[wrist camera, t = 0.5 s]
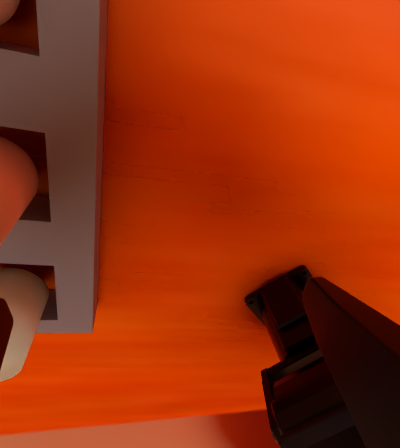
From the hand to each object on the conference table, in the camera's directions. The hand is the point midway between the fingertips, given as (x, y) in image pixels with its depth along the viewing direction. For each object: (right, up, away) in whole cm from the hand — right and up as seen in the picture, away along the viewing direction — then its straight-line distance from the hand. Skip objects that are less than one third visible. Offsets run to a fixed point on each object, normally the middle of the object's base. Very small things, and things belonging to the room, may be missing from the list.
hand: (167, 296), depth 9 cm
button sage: (-11, -2, +11) cm, 16 cm away
